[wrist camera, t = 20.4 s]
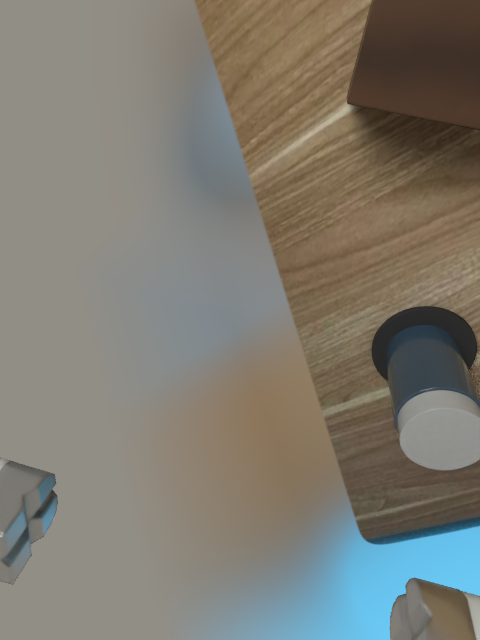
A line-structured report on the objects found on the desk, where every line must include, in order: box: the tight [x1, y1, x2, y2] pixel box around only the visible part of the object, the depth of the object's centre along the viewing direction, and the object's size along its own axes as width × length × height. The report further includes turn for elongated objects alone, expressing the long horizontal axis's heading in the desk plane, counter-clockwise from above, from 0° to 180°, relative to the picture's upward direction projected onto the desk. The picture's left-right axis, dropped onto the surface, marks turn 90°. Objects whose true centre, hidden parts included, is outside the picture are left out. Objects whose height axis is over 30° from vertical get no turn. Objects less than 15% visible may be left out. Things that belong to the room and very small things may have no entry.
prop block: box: [347, 0, 480, 130], centre depth 28 cm, size 7×10×5 cm
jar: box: [385, 325, 480, 470], centre depth 36 cm, size 12×6×12 cm
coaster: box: [372, 306, 477, 381], centre depth 41 cm, size 9×9×1 cm
